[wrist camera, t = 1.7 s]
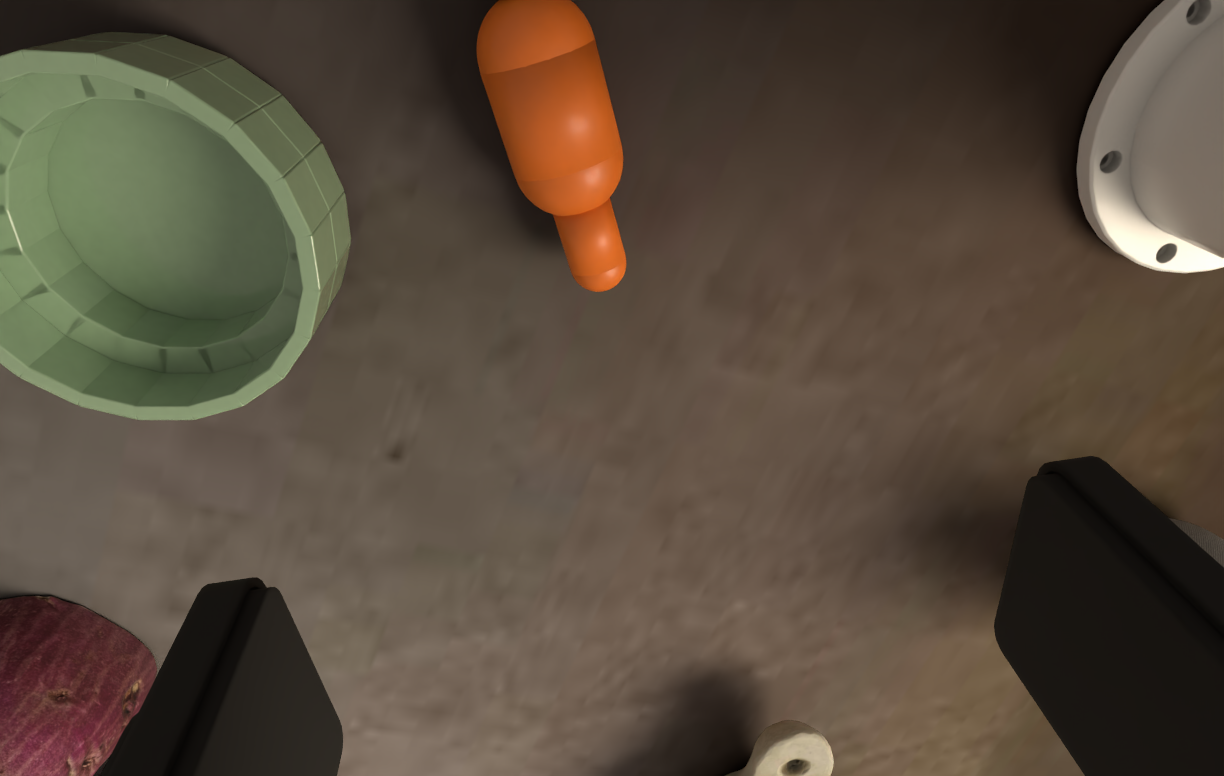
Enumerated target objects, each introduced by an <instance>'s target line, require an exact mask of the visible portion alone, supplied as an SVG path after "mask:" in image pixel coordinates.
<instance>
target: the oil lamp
mask: <svg viewBox="0 0 1224 776" xmlns="http://www.w3.org/2000/svg"><path fill="white" fill-rule="evenodd" d="M833 764H834V762H833V755H832V750H831V747H830V746H829V744H828V742H827V740H826V739H825V738H824V737H823V735H822V734H820V733H819V732H818V731H817V730H815V729H814V728H812V727H810V726H808V725H807V724H804V723H802V722H799V721H793V720H786V721H781V722H778V723H776V724H773V725H771V726H769V727H768V728H766V729H765V730H764V731H763V732H762V734H761V735H760V736H759V738H758V739H757V741H756V743H755V746H754V748H753V752H752V755H751V757H750V759H749V761H748V763H747V765H746V766H745V768H744V769H742V770H739V771H736V772H733V773H730V774H728V775H725V776H830V775H831V772H832V769H833Z"/></svg>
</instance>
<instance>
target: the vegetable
mask: <svg viewBox="0 0 1224 776" xmlns="http://www.w3.org/2000/svg"><path fill="white" fill-rule="evenodd" d="M156 673H157V667H156V663H155V659H154V657H153V655H152V653H151V652H150V651H149V649H148V648H147V647H146V646H145V645H144V644H143V643H141V642H140V641H139V640H138V639H137V638H136V637H135V636H133V635H132V634H130V633H129V632H128V631H126V630H124V629H122V628H121V627H119V626H116V625H115V624H114V623H110V621H109V620H106V619H105V618H103V617H102V616H99V615H98V614H96V613H94V612H92V611H91V610H88V609H86V608H85V607H83V606H80V605H77V604H72V603H69V602H66V601H62V600H60V599H59V598H56V597H52V596H49V597H42V596H28V597H25V596H22V597H15V598H10V599H2V600H0V776H93V775H94V774H95V772H96V771H97V770H98V768H99V767H100V766H101V765H102V764H103V763H104V762H105V761H106V759H107V758H108V757H109V756H110V754H111V753H112V752H113V750H114V748H115V746H116V744H117V742H118V740H119V738H120V736H121V734H122V732H123V731H124V729H125V728H126V726H127V725H128V723H129V722H130V720H131V718H132V717H133V716H134V715H136V714H137V713H138V712H139V710H140V708H141V706H142V704H143V702H144V700H145V698H146V696H147V694H148V692H149V690H150V688H151V686H152V684H153V682H154V680H155V677H156Z"/></svg>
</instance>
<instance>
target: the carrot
mask: <svg viewBox="0 0 1224 776" xmlns="http://www.w3.org/2000/svg"><path fill="white" fill-rule="evenodd" d="M476 48H477V61H478V65H479V70H480V74H481V77H482V80H483V83H484V86H485V89H486V92H487V95H488V98H489V101H490V104H491V107H492V110H493V113H494V116H495V119H496V122H497V125H498V128H499V131H500V134H501V137H502V140H503V143H504V146H505V149H506V152H507V155H508V158H509V161H510V164H511V167H512V170H513V173H514V176H515V178H516V181H517V183H518V185H519V187H520V189H521V190H522V192H523V193H524V195H525V196H526V197H527V198H528V199H529V200H530V201H531V202H532V203H533V204H534V205H535V206H537V207H538V208H540V209H542V210H543V211H545V212H548V213H551V214H553V216H554V219H555V223H556V226H557V229H558V232H559V235H560V239H561V242H562V245H563V248H564V251H565V254H566V258H567V261H568V264H569V267H570V270H571V273H572V275H573V277H574V279H575V280H576V282H577V283H578V284H580V285H581V286H582V287H583V288H585V289H587V290H590V291H594V292H602V291H606V290H609V289H611V288H613V287H614V286H616V285H617V284H618V283H619V282H620V280H621V279H622V277H623V275H624V273H625V270H626V256H625V252H624V248H623V245H622V241H621V237H620V233H619V230H618V226H617V222H616V219H615V215H614V211H613V208H612V204H611V200H610V196H611V195H612V194H613V192H614V191H615V189H616V187H617V185H618V183H619V181H620V178H621V174H622V170H623V151H622V144H621V140H620V136H619V132H618V128H617V124H616V120H615V116H614V112H613V109H612V105H611V101H610V97H609V93H608V89H607V85H606V81H605V77H604V73H603V69H602V65H601V61H600V57H599V53H598V49H597V45H596V41H595V37H594V34H593V32H592V29H591V26H590V24H589V22H588V20H587V19H586V17H585V15H584V14H583V12H582V11H581V10H580V9H579V8H578V7H577V5H576V4H575V3H573V2H572V1H571V0H498V1H497V2H496V3H495V4H494V5H493V6H492V7H491V9H490V10H489V11H488V13H487V14H486V16H485V18H484V20H483V21H482V24H481V27H480V30H479V33H478V39H477V46H476Z"/></svg>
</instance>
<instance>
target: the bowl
mask: <svg viewBox="0 0 1224 776" xmlns="http://www.w3.org/2000/svg"><path fill="white" fill-rule="evenodd" d="M343 192H344V189H343V187H342V185H341V182H340V180H339V178H338V176H337V174H336V172H335V169H334V167H333V165H332V163H331V161H330V158H329V156H328V154H327V152H326V150H325V148H324V145H323V144H322V142H320V139H319V138H318V136H317V135H316V134H315V133H314V132H313V130H312V129H311V128H310V127H309V126H308V125H307V123H306V122H305V121H304V120H303V119H302V117H301V116H300V115H299V114H298V113H297V112H296V110H295V109H294V108H293V107H292V106H291V104H290V103H289V102H288V101H287V100H286V99H285V97H284V96H282V95H281V93H280V92H278V91H277V90H275V89H274V88H273V87H271V86H270V85H268V84H267V83H265V82H264V81H263V80H261V79H260V78H258V77H257V76H255V75H254V74H253V73H251V72H250V71H248V70H247V69H245V68H244V67H243V66H241V65H240V64H238V63H237V62H235V61H234V60H233V59H231V58H228V57H226V56H225V55H222V54H219V53H216V52H213V51H211V50H208V49H205V48H202V47H200V46H197V45H194V44H191V43H188V42H186V41H183V40H180V39H177V38H175V37H172V36H167V35H164V34H143V33H123V32H103V33H98V34H93V35H88V36H84V37H79V38H74V39H69V40H65V41H60V42H55V43H50V44H45V45H40V46H36V47H31V48H26V49H21V50H17V51H14V52H11V53H8V54H5V55H2V56H0V364H2V365H3V366H4V367H6V368H7V369H8V370H9V371H11V372H12V373H13V374H15V375H16V376H17V377H19V376H20V378H21V379H23V380H25V381H27V382H29V383H31V384H33V385H35V386H37V387H39V388H42V389H44V390H46V391H48V392H50V393H52V394H54V395H56V396H58V397H60V398H62V399H64V400H67V401H69V402H71V403H73V404H75V405H78V406H81V407H85V408H89V409H93V410H98V411H102V412H106V413H110V414H114V415H119V416H123V417H127V418H131V419H137V420H196V419H199V418H203V417H206V416H210V415H214V414H217V413H221V412H224V411H228V410H231V409H235V408H239V407H242V406H244V405H246V404H247V403H249V402H250V401H252V400H253V399H255V398H256V397H258V396H259V395H261V394H262V393H264V392H265V391H266V390H268V389H269V388H271V387H272V386H274V385H275V384H277V383H278V382H280V381H281V380H283V378H284V377H286V375H287V374H288V372H289V371H290V369H291V368H292V366H293V365H294V363H295V362H296V360H297V359H298V358H299V356H300V355H301V353H302V352H303V350H304V349H305V347H306V346H307V344H308V343H309V341H310V340H311V338H312V336H313V334H314V333H315V331H316V329H317V327H318V326H319V324H320V322H321V320H322V319H323V317H324V315H325V313H326V312H327V310H328V308H329V306H330V305H331V303H332V301H333V299H334V298H335V296H336V294H337V292H338V290H339V289H340V287H341V284H342V281H343V277H344V272H345V268H346V263H347V259H348V254H349V250H350V245H351V242H350V241H351V236H350V228H349V220H348V212H347V204H346V196H345V193H343Z"/></svg>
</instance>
